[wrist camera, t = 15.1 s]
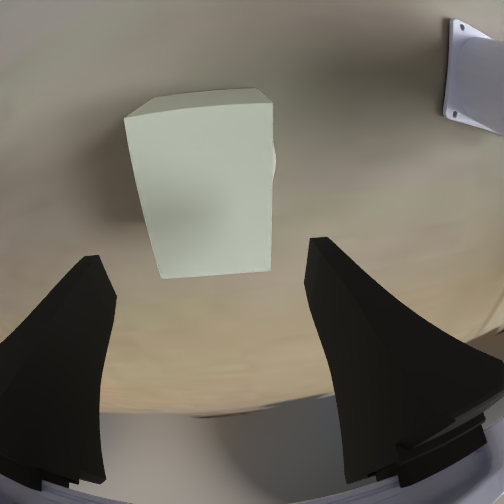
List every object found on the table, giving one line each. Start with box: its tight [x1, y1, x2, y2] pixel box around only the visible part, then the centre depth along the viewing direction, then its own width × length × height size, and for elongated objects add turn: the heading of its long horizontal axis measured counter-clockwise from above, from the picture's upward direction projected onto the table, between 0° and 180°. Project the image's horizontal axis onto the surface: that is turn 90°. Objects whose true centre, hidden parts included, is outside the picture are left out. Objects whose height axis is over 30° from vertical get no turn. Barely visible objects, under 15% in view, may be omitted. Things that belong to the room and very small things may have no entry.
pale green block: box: [124, 88, 273, 279], centre depth 15 cm, size 6×8×6 cm
